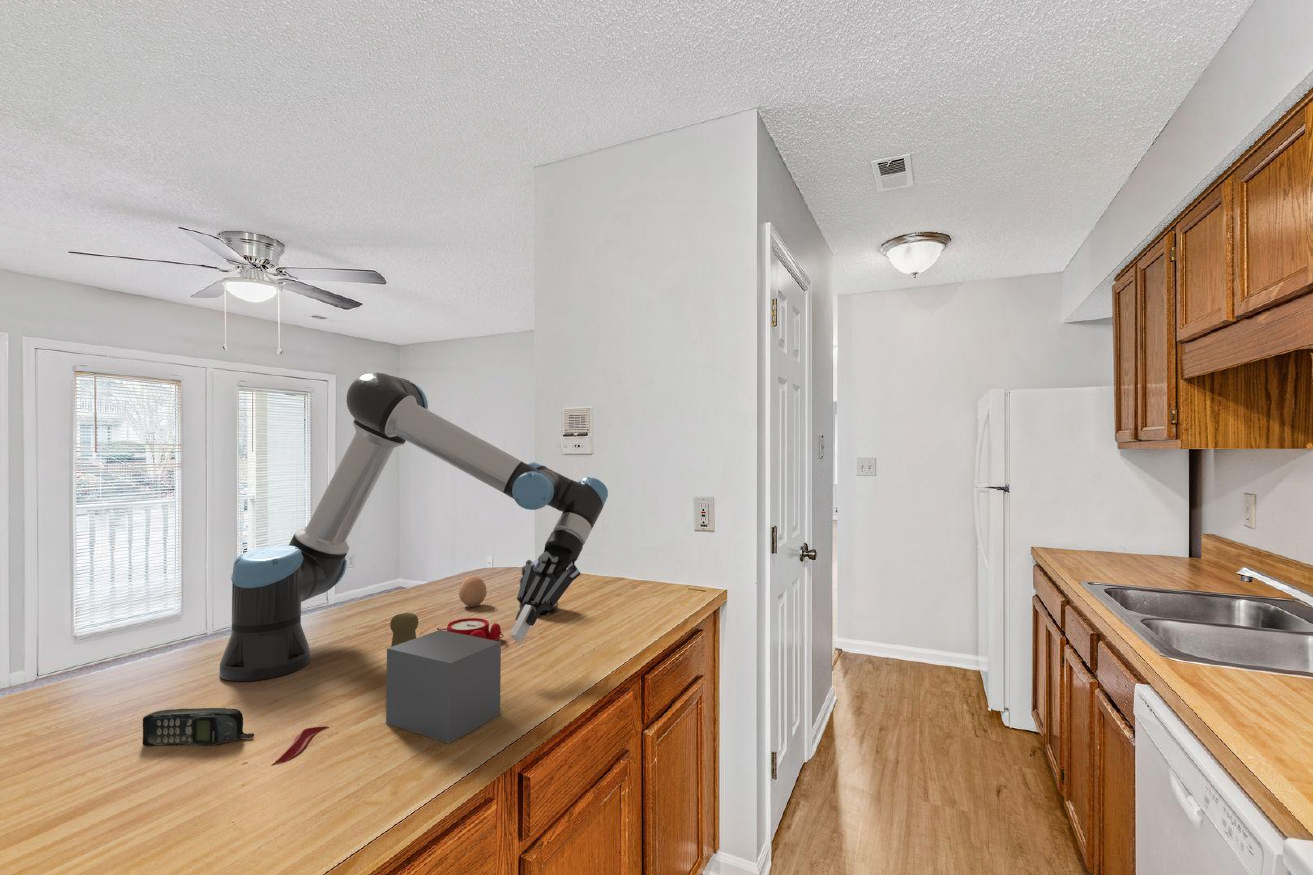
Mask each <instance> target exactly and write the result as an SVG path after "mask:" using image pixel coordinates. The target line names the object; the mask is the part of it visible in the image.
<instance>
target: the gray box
mask: <svg viewBox="0 0 1313 875" xmlns="http://www.w3.org/2000/svg"><path fill="white" fill-rule="evenodd" d="M501 654H502V642H501V641H499V640H498V641H494V640H489V639H484V638H479V637H474V636H469V635H464V634H459V633H454V632H449V631H447V630H435V631H433V632H430V633H428V634H423V635H422V636H419V637H416V638H415V639H412V640H410V641H407V642H404V643H401V644H398V645H395V646H392V647H391V646H390V647H387V648H386V678H385V679H386V683H385V684H386V685H385V686H386V689H385V690H386V692H385V693H386V695H385V724H386V725H390V726H392V727H396V728H399V729H402V730H406V731H408V732H412V733H415V734H418V735H420V736H424V737H428V738H431V739H434V740H436V741H437V740H438V741H440V742H444V743H447V744H452V743H454V742H455V741H457V740H458V739H460V738H462V737H463V736H465V735H467V734H469V733H471V732H472V731H474V730H476V729H477V728H479V727H481V726H482V725H484V724H486V723H487V722H490V721H491V720H493V719H495V718H497V717H499V716H500V715H501V678H502V677H501V672H502V671H501V670H502V669H501V668H502V665H501V663H502V662H501V660H502V655H501Z"/></svg>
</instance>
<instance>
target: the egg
mask: <svg viewBox="0 0 1313 875" xmlns="http://www.w3.org/2000/svg"><path fill="white" fill-rule="evenodd" d="M487 592H488V591H487V586H486V583H485V582H484V580H483V579H482V578H481V577H480V576H478V575H470V576H468V577H466V578H465V579H464V580H463V581H462V583H461V585H460V587H459V591H458V596H459V600H460V601H461V602H462V603H463V604H464V605H465V606H467V607H471V608H474V607H477V606H479V605H481V604H482V603H483V601H485V599H486V597H487Z"/></svg>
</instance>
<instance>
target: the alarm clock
mask: <svg viewBox="0 0 1313 875" xmlns="http://www.w3.org/2000/svg"><path fill="white" fill-rule="evenodd" d="M501 629H502V628H501V626H500V623H497V622H496V623H493V624H492V625H491V626H490V623H489V620H486V619H485V618H475V617H472V618H471V617H470V618H469V617H467V618H461V619H456V620H453V621H450V622H448V624H447V626H446V628H436V631H438V630H444V631H449V632H454V633H459V634H464V635H469V636H474V637H479V638H484V639H489V640H494V641H499V640H500V639H502V638H504V634H503V632H502V631H501Z"/></svg>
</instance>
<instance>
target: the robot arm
mask: <svg viewBox="0 0 1313 875" xmlns="http://www.w3.org/2000/svg"><path fill="white" fill-rule="evenodd" d="M428 403H429V402H428V399H427V396H426V394H425V392H424V391H423V389H422V388H421V387H420V386H418V385H417V384H416V383H414V382H412V381H410V380H408V379H405V378H404V377H399V376H394V375H390V374H386V373H382V372H369V373H365V374H363V375H361V376H359V377H357V378H356V379H355V380H354V381H352V383H351V384H350V386H349V387H348V389H347V393H346V407H347V409H348V411H349V413H350V415H351V416H352V417H353V421H352V424H353V427H354V429H355V434H354V436H353V438H352V439H351V442H349V445H348V447H347V449H346V451H345V453H344V454H343V457H342V458H341V461H340V462H339V464H338V467H337V469H336V470H335V472H334V474H333V476H332V478H331V480H330V481H329V484H328V485H327V488H326V489H325V491H324V493H323V495H322V497H321V499H320V500H319V503H318V505H317V507H316V509H315V510H314V512H313V514H312V516H311V518H310V520H309V522H308V523H307V526H305V527H302V528H300V529H297V530H296V531H295V532H294V534H293V536H292V537H291V539H290V541H289V544H288V545H287V544H286V545H282V544H281V545H269V546H265V547H263V548H256V549H252V550H249V551H246V552H243V553H242V554H241V555H239V556H238V557H237V558H236V559H235V560H234V562H233V568H232V573H231V578H230V579H231V582H232V583H231V584H232V586H231V589H232V590H231V591H232V592H231V635H230V637H229V640H228V642H227V644H226V647H225V650H224V652H223V655H222V657H221V660H220V663H219V677H220V678H221V679H222V680H226V681H230V682H251V681H252V682H253V681H254V682H255V681H261V680H266V679H272V678H276V677H280V676H284V675H287V674H291V673H294V672H295V671H298V670H300V669H302V668H304V667H305V666H307V665H308V664H309V663H310V661H311V649H310V646H309V643H308V639H307V638H306V634H305V631H304V630H303V626H302V618H301V617H302V602H305V601H307V600H309V599H312V598H315V597H316V596H317V597H318V596H319V595H322V594H324V593H327V592H328V591H330V590H331V589H332V588H334V587H335V586H336V585H337V584H338V583H339V582H340V581H341V580H342V578H343V577H344V575H345V573H346V570H347V564H348V561H347V559H346V556H347V555H348V553H349V551H350V546H349V545H348V542H347V540H348V537H349V535H350V534H351V532H352V529H353V528H354V526H355V524H356V522H357V520H358V518H359V517H360V515H361V513H362V510H363V508H364V507H365V505H366V503H367V501H368V499H369V498H370V495H371V493H372V491H373V489H374V487H375V485H376V484H377V481H378V479H379V478H380V477H381V475H382V472H383V470H384V468H385V467H386V464H387V462H388V460H389V458H390V457H391V455H392V452H393V451H394V449H395V448H397V447H398V448H399V447H401V446H404V445H405V443H406V442H408V443H410V444H412V445H414V446H415V447H417V448H418V449H421V450H422V451H425V452H427V453H429V455H433V456H434V457H436V458H438V459H439V460H442V461H444V462H445V463H447V464H448V465H451V466H452V467H455V468H456V469H459V471H462V472H464V473H465V474H467V475H469V476H472V477H473V478H475V479H477V480H478V481H481V482H482V483H484V484H485V485H486V484H487V485H488V486H490V487H491V488H493V489H495V490H498V491H499V492H501V493H503V494H504V495H506V496H508V497H509V498H511V499H513V500H514V502H516V504H517V505H518V506H519V507H521V508H522V509H525V510H530V511H535V510H540V509H543V508H545V507H546V506H549V507H551V508H553V509H555V510H556V511H559V512H562V513H561V515H560V517H559V518H558V520H557V522H556V524H555V526H554V527H553V531H552V532H551V533H550V535H549V536H548V538H547V540H546V542H545V544H544V550H543V552H542V553H541V554H540V555H539V556H538V558H537V559H535V560H533V561H532V560H531V559H527V560H526V561H525V565H526V571H525V574H524V577H523V580H522V583H521V587H520V586H519V590H518V593H517V596H516V601H517V602H518V603H519V605H520V604H521V605H522V607H521V609H520V608H519V610H518V613H517V614H516V617H515V623H514V625H513V627H512V629H511V631H510V632H509V636H510V637H511V638H512V639H513V640H514V641H515V642H516V643H517V642H518V643H521V644H522V643H523V641H524V640H525V637H527V634H528V632H529V630H530V627H531V626H532V627H534V625H535V624H536V623H537V622H536V621H537V620H538V618H539V616H540V615H539V614H540V612H542V611H543V610H548V611H550V610H551V609H552V608H553V607H554V605H555V604H556V603H557V601H558V602H559V600H560V599H561V597H562V596H563V595H564V594H565V592H566V590H567V589H568V588H569V587H570V585H571V584H572V582H573V581H575V580H576V579H578V578H579V577H580V575H581V571H580V570H579V569H578V567H577V566H576V565H575V563H576V561H577V560H578V558H579V556H580V554H581V552H582V551H583V546H585V544H586V542H587V541H588V540H587V539H588V538H589V536H590V534H591V531H592V530H593V529H594V528H593V527H594V526H595V524H596V523H597V520H598V518H599V516H600V514H601V513H602V511H603V508H604V506H605V504H606V502H607V499H608V496H609V490H608V488H607V486H606V485H605V483H604V482H602V481H601V480H600V479H597V478H595V477H590V476H585V477H583V478H582V477H581V479H580V480H579V481H576V480H573V479H571V478H568V477H567V476H565V475H562V474H560V473H558V472H556V471H555V470H552V469H550V468H548V467H547V466H546V465H542V464H540V463H537V462H534V461H532V462H530V463H528V464H527V463H526V462H524V461H522V460H520V459H519V458H516V457H515V456H513V455H511V454H509V453H508V452H506V451H504V450H503V449H500V448H499V447H496V446H495V445H493V444H491V443H489V442H488V441H485V440H483V439H482V438H480V437H478V436H476V435H475V434H472V433H471V432H469V431H467V430H465V429H463V428H462V427H460V426H458V425H456V424H454V423H453V422H450V421H448V419H446V418H443V417H442V416H440V415H438V414H436V413H435V412H432V411H431V410H429V404H428ZM538 567H539V569H538ZM536 572H537V576H536ZM549 601H550V602H549Z"/></svg>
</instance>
